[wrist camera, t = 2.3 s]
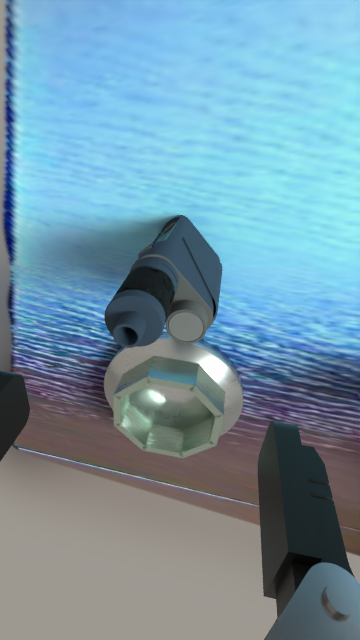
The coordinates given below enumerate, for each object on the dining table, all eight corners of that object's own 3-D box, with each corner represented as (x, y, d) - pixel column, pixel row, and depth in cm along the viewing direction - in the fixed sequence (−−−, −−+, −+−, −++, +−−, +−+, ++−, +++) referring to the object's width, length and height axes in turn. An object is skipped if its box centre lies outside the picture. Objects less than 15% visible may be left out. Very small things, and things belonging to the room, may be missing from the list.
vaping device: (181, 205, 21) (127, 292, 11) (229, 267, 23) (220, 391, 13) (151, 229, 22) (79, 328, 12) (199, 287, 24) (170, 415, 14)
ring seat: (107, 320, 27) (89, 348, 24) (256, 346, 26) (259, 378, 23) (109, 420, 33) (96, 452, 30) (229, 444, 33) (228, 479, 30)
